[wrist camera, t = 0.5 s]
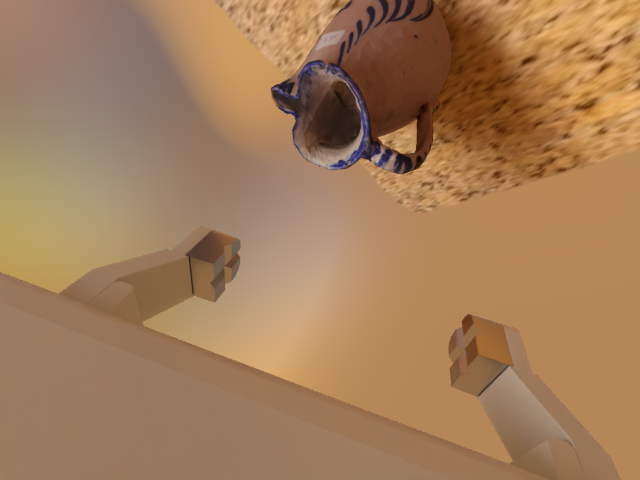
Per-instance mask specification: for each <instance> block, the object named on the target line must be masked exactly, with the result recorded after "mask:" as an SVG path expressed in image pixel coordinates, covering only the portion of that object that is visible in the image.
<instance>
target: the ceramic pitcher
mask: <svg viewBox="0 0 640 480" xmlns="http://www.w3.org/2000/svg"><path fill="white" fill-rule="evenodd" d="M451 57H452V50H451V43H450V37H449V33H448V30H447V26H446V23H445V20H444V18H443V15H442V13H441V11H440V10H439V8H438V7H437V5H436V4H435V2H434V1H433V0H351V1H350V2H348V3H347V4H346V5H345V6H344V7H343V8H342V9H341V10H340V11H339V12H338V13H337V14H336V16H335V17H334V19H333V20H332V21H331V22H330V24H329V25H328V26H327V27H326V29H325V30H324V32H323V33H322V34H321V36H320V37H319V39H318V41H317V42H316V44H315V45H314V47H313V48H312V50H311V51H310V53H309V55H308V56H307V58H306V60H305V61H304V62H303V64H302V65H301V66H300V68H299V69H298V70H297V71H296V72H295V73H294V75H293V76H292V77H291V78H289V79H288V80H286V81H284V82H282V83H280V84H277V85H275V86H273V87H272V88H271V94H272V99H273V100H274V102H275V104H276V106H277V107H278V108H279V109H280V110H282V111H284V112H285V113H287V114H290V113H291V114H292V115H294V116H295V120H296V122H295V125H294V127H293V129H292V132H293V142H294V145H295V146H296V148H297V149H298V151H299V152H300V154H301V155H302V156H303V158H305V159H306V160H307V161H309V162H311V163H313V164H315V165H319V166H320V167H324V168H326V169H328V170H338V169H347V168H349V167H350V166H351V165H353V164H355V163H356V162H357V161H358V160H359V159H360V158H364V159H367V160H369V161H370V162H372V163H373V164H374V165H376V166H378V167H380V168H382V169H385V170H388V171H391V172H394V173H397V174H405V173H408V172H410V171H413V170H416V169H418V168H419V167H420V166H421V165H422V163H423V162H424V160H425V159H426V157H427V155H428V154H429V151H430V149H431V145H432V141H433V119H432V115H433V113H434V112H435V111H436V110H437V109H438V108H439V105H440V102H439V98H438V96H439V94H440V93H441V91H442V89H443V86H444V84H445V82H446V80H447V77H448V74H449V70H450V66H451ZM416 119H418V121H417V145H416V151H415V153H411V154H401V153H399V152H398V151H396V150H392V149H391V148H389V147H387V146H385V145H383V144H382V142H381V141H380V140H379V139H378V138H377V137H380V136H383V135H386V134H389V133H391V132H393V131H396V130H398V129H400V128H403V127H404V126H406V125H408V124H409V123H411V122H413V121H414V120H416Z"/></svg>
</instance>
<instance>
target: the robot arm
mask: <svg viewBox="0 0 640 480" xmlns="http://www.w3.org/2000/svg"><path fill="white" fill-rule="evenodd" d="M239 249H240V240H239V239H237V238H235V237H232V236H229V235H226V234H223V233H220V232H217V231H215V230H211V229H208V228H205V227H202V226H200V227H197V228H196V229H195V230H194V231H192V232H191V233H190V234H189V235H188V236H187V237H186V238H184V239H183V240H182V241H181V242H180V243H179V244H177V245H176V246H175V247H174V248H173V249H172V250H168V249H166V250H162V251H158V252H154V253H151V254H147V255H143V256H139V257H136V258H133V259H129V260H125V261H121V262H118V263H114V264H110V265H107V266H103V267H99V268H95V269H92V270H91V271H90V272H88V273H87V274H85V275H84V276H83V277H81V278H80V279H78V280H77V281H75V282H74V283H73V284H71V285H70V286H69V287H67V288H66V289H64V290H63V291H62V292H60V293H59V294H57V293H54V292H52V291H49V290H46V289H44V288H41V287H39V286H36V285H33V284H31V283H28V282H25V281H23V280H20V279H17V278H15V277H12V276H9V275H7V274H4V273H1V272H0V480H621V479H620V477H619V475H618V472H617V470H616V468H615V465H614V463H613V461H612V458H611V457H610V455H609V454H608V453H607V452H606V451H605V450H604V449H603V448H602V447H601V445H600V444H599V443H598V442H597V441H596V440H595V439H594V438H593V436H592V435H591V434H590V433H589V432H588V431H587V430H586V429H585V428H584V426H583V425H582V424H581V423H580V422H579V421H578V420H577V418H576V417H575V416H574V415H573V414H572V413H571V412H570V411H569V410H568V408H567V407H566V406H565V405H564V404H563V403H562V402H561V401H560V399H559V398H558V397H557V396H556V395H555V394H554V393H553V392H552V391H551V389H550V388H549V387H548V386H547V385H546V384H545V383H544V382H543V380H542V379H541V378H540V377H539V376H538V375H535V374H533V372H532V369H531V366H530V363H529V360H528V357H527V354H526V350H525V347H524V344H523V341H522V338H521V335H520V332H519V331H518V330H517V329H516V328H512V327H509V326H506V325H502V324H498V323H495V322H492V321H489V320H486V319H483V318H480V317H477V316H473V315H470V314H468V315H467V316H465V317H464V319H463V320H462V328H459V329H456V330H455V332H454V333H453V335H452V336H451V339H450V342H449V357H450V359H451V360H452V362H453V365H452V366H451V367H450V377H451V387H454V388H456V389H459V390H462V391H464V392H467V393H469V394H472V395H475V396H477V397H478V400H479V401H480V403H481V405H482V407H483V409H484V411H485V412H486V414H487V416H488V418H489V419H490V421H491V423H492V425H493V426H494V428H495V430H496V432H497V433H498V435H499V437H500V439H501V440H502V442H503V444H504V446H505V448H506V449H507V451H508V453H509V455H510V456H511V458H512V460H513V462H511V463H510V464H508V463H505V462H502V461H500V460H497V459H494V458H492V457H489V456H486V455H484V454H481V453H478V452H476V451H473V450H470V449H468V448H465V447H462V446H459V445H457V444H454V443H452V442H449V441H447V440H444V439H441V438H439V437H436V436H433V435H431V434H428V433H425V432H422V431H420V430H417V429H415V428H412V427H409V426H407V425H404V424H401V423H399V422H396V421H393V420H391V419H388V418H386V417H383V416H380V415H377V414H375V413H372V412H370V411H367V410H364V409H362V408H359V407H356V406H353V405H351V404H348V403H346V402H343V401H340V400H338V399H335V398H332V397H330V396H327V395H324V394H322V393H319V392H316V391H314V390H311V389H308V388H306V387H303V386H301V385H298V384H295V383H293V382H290V381H287V380H285V379H282V378H279V377H277V376H274V375H272V374H269V373H266V372H264V371H261V370H258V369H256V368H253V367H250V366H248V365H245V364H242V363H240V362H237V361H235V360H232V359H229V358H227V357H224V356H221V355H219V354H216V353H213V352H211V351H208V350H205V349H203V348H200V347H197V346H195V345H192V344H190V343H187V342H184V341H182V340H179V339H176V338H174V337H171V336H168V335H165V334H163V333H160V332H158V331H155V330H152V329H150V328H147V327H145V326H143V321H145V320H147V319H149V318H151V317H153V316H155V315H157V314H159V313H161V312H163V311H165V310H167V309H169V308H171V307H173V306H175V305H177V304H179V303H181V302H183V301H185V300H187V299H189V298H191V297H193V295H194V296H197V297H200V298H203V299H206V300H209V301H212V302H216V301H217V299H218V298H219V297H220V295H221V294H222V293H223V292H224V290H225V284H226V283H228V282H231V281H232V280H233V278H234V277H235V276H236V273H237V271H238V269H239V265H240V257H239V255H238V253H237V252H238V250H239Z"/></svg>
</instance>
